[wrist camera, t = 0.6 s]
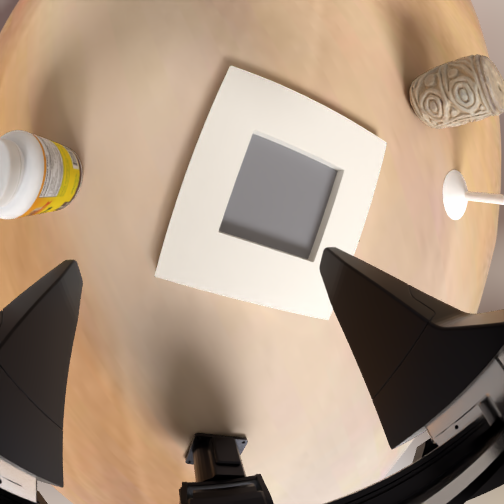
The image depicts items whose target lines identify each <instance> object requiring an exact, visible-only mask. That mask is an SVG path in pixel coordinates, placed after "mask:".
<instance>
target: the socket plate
mask: <svg viewBox="0 0 504 504" xmlns="http://www.w3.org/2000/svg"><path fill="white" fill-rule="evenodd" d="M386 145H387V143H386V142H385V141H383V140H382V139H380V138H379V137H377V136H376V135H374V134H373V133H371V132H369V131H368V130H366V129H365V128H363V127H361V126H360V125H358V124H356V123H355V122H353V121H351V120H349V119H348V118H346V117H344V116H342V115H341V114H339V113H337V112H335V111H333V110H332V109H330V108H328V107H326V106H324V105H322V104H320V103H318V102H316V101H314V100H312V99H310V98H308V97H306V96H304V95H302V94H300V93H298V92H296V91H294V90H291V89H289V88H287V87H285V86H282V85H280V84H278V83H275V82H273V81H271V80H268V79H266V78H263V77H261V76H258V75H256V74H253V73H251V72H248V71H245V70H242V69H240V68H237V67H234V66H231V65H230V67H229V69H228V72H227V74H226V76H225V78H224V80H223V82H222V84H221V87H220V89H219V91H218V93H217V96H216V98H215V100H214V103H213V105H212V107H211V110H210V112H209V114H208V117H207V119H206V122H205V124H204V127H203V129H202V132H201V134H200V137H199V139H198V142H197V144H196V147H195V150H194V152H193V155H192V158H191V160H190V163H189V166H188V169H187V171H186V174H185V177H184V180H183V183H182V186H181V189H180V192H179V195H178V198H177V201H176V204H175V207H174V210H173V213H172V216H171V220H170V223H169V226H168V230H167V233H166V236H165V240H164V243H163V247H162V250H161V254H160V258H159V261H158V265H157V269H156V273H155V276H154V277H158V278H161V279H165V280H168V281H171V282H175V283H178V284H182V285H185V286H189V287H193V288H196V289H200V290H204V291H207V292H211V293H215V294H219V295H222V296H226V297H230V298H234V299H238V300H242V301H246V302H250V303H254V304H258V305H262V306H266V307H271V308H275V309H279V310H283V311H288V312H292V313H297V314H301V315H306V316H310V317H315V318H320V319H324V320H329V317H330V315H331V313H332V310H333V308H332V305H331V303H330V300H329V297H328V294H327V291H326V288H325V285H324V282H323V279H322V277H321V274H320V270H319V266H320V262H321V258H322V254H323V250H324V249H325V248H326V247H336V248H338V249H340V250H342V251H344V252H346V253H348V254H350V255H352V256H354V253H355V251H356V248H357V245H358V242H359V239H360V236H361V233H362V230H363V227H364V224H365V221H366V218H367V214H368V211H369V208H370V205H371V201H372V198H373V195H374V191H375V188H376V184H377V180H378V177H379V173H380V169H381V165H382V162H383V158H384V154H385V149H386Z"/></svg>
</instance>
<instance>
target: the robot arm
mask: <svg viewBox="0 0 504 504" xmlns="http://www.w3.org/2000/svg"><path fill="white" fill-rule="evenodd" d="M319 270H320V274H321V277H322V279H323V282H324V285H325V288H326V291H327V294H328V297H329V300H330V303H331V305H332V308H333V310H334V312H335V314H336V316H337V319H338V321H339V323H340V325H341V327H342V330H343V332H344V334H345V336H346V339H347V341H348V343H349V345H350V348H351V350H352V352H353V355H354V357H355V359H356V362H357V364H358V366H359V369H360V371H361V373H362V376H363V378H364V381H365V383H366V386H367V388H368V390H369V393H370V395H371V398H372V399H373V400H372V401H373V403H374V406H375V408H376V411H377V414H378V416H379V419H380V421H381V424H382V427H383V429H384V432H385V434H386V437H387V440H388V443H389V445H390V447H391V449H394V448H396V447H398V446H400V445H402V444H404V443H406V442H407V441H409V440H411V439H413V438H415V437H416V436H418V435H420V434H422V433H423V432H425V431H427V432H428V434H429V435H430V439H429V440H427V441H426V442H424V443H423V444H421V445H420V446H418V447H417V450H416V453H415V456H414V460H413V463H412V464H410V465H409V466H407V467H405V468H403V469H402V470H400V471H398V472H396V473H394V474H392V475H390V476H388V477H386V478H384V479H382V480H380V481H378V482H376V483H374V484H372V485H370V486H368V487H365V488H363V489H361V490H358V491H356V492H354V493H351V494H349V495H346V496H344V497H341V498H338V499H335V500H333V501H330V502H327V503H324V504H464V503H465V502H466V501H468V500H470V499H472V498H475V497H477V496H480V495H482V494H484V493H486V492H488V491H491V490H493V489H495V488H497V487H499V486H501V485H503V484H504V309H502V310H497V311H491V312H486V313H480V314H470V313H466V312H463V311H460V310H458V309H456V308H454V307H452V306H450V305H448V304H446V303H444V302H442V301H440V300H438V299H436V298H434V297H432V296H430V295H427V294H426V293H424V292H422V291H420V290H418V289H416V288H414V287H412V286H410V285H408V284H407V283H405V282H403V281H401V280H399V279H397V278H395V277H393V276H391V275H390V274H388V273H386V272H384V271H382V270H380V269H378V268H376V267H374V266H372V265H370V264H368V263H366V262H364V261H362V260H360V259H358V258H356V257H354V256H352V255H350V254H348V253H346V252H344V251H342V250H340V249H338V248H336V247H326V248H325V249H324V250H323V254H322V258H321V262H320V266H319ZM82 286H83V281H82V277H81V273H80V270H79V267H78V264H77V262H76V261H75V260H65V261H64V262H62V263H61V264H60V265H58V266H57V267H55V268H54V269H53V270H51V271H50V272H49V273H47V274H46V275H45V276H43V277H42V278H41V279H39V280H38V281H37V282H36V283H34V284H33V285H32V286H30V287H29V288H28V289H27V290H25V291H24V292H23V293H22V294H20V295H19V296H18V297H17V298H16V299H14V300H13V301H12V302H11V303H10V304H8V305H7V306H6V307H5V308H4V309H3V311H2V310H1V311H0V504H47V502H46V501H45V500H44V498H43V497H42V495H41V494H40V493H39V491H37V480H38V481H41V482H45V483H48V484H51V485H55V486H59V487H63V418H64V404H65V394H66V385H67V378H68V370H69V364H70V358H71V352H72V346H73V341H74V336H75V331H76V326H77V321H78V314H79V306H80V299H81V292H82ZM247 442H248V441H247V438H242V437H229V436H218V435H209V434H201V433H197V434H195V435H194V437H193V440H192V443H191V446H190V448H189V451H188V454H187V457H186V463H187V464H194V469H195V477H196V482H189V483H187V482H182V487H181V489H179V495H180V503H179V504H274V503H273V500H272V498H271V495H270V493H269V491H268V489H267V487H266V485H265V483H264V481H263V478H262V476H261V474H256V475H254V476H248V477H246V474H245V471H244V467H243V464H242V460H241V457H240V455H241V453H242V451H243V450H244V448H245V446H246V444H247Z"/></svg>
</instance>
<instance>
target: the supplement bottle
mask: <svg viewBox="0 0 504 504" xmlns="http://www.w3.org/2000/svg"><path fill="white" fill-rule="evenodd" d="M81 183H82V166H81V162H80V160H79V158H78V156H77V154H76V153H75V152H74V151H73V150H71V149H70V148H68V147H66V146H64V145H61V144H58V143H56V142H54V141H51V140H48V139H46V138H43V137H41V136H38V135H35V134H32V133H29V132H27V131H22V130H15V131H11V132H8V133H6V134H4V135H3V136H1V137H0V218H2V219H14V218H19V217H24V216H30V215H35V214H41V213H46V212H52V211H57V210H60V209H63V208H64V207H66V206H67V205H69V204H70V203H71V202H72V201H73V200H74V198H75V197H76V195H77V194H78V192H79V189H80V186H81Z"/></svg>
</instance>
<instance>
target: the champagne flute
mask: <svg viewBox="0 0 504 504" xmlns="http://www.w3.org/2000/svg"><path fill="white" fill-rule="evenodd" d="M468 201H477V202H486V203H494V204H502V205H504V195H502V194H492V193H482V192H470V191H468V190H467V186H466V182H465V179H464V177H463V176H462V174H461V173H460V172H459V171H457V170H451V171H450V172H449V173H448V174H447V175H446V178H445V180H444V184H443V203H444V207H445V210H446V212H447V214H448V216H449V217H450V218H451V219H453V220H458V219H460V218H461V217H462V216H463V214H464V212H465V210H466V207H467V203H468Z"/></svg>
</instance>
